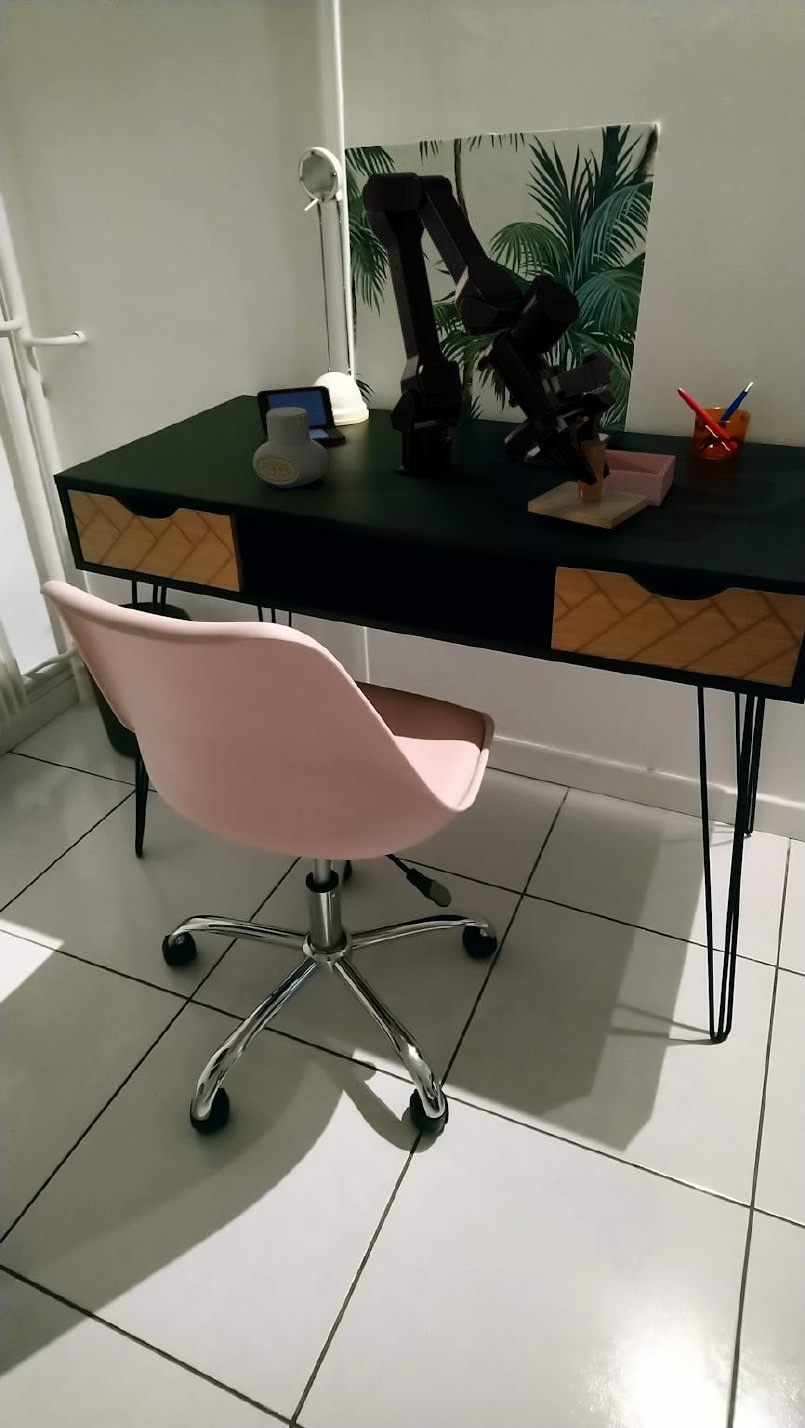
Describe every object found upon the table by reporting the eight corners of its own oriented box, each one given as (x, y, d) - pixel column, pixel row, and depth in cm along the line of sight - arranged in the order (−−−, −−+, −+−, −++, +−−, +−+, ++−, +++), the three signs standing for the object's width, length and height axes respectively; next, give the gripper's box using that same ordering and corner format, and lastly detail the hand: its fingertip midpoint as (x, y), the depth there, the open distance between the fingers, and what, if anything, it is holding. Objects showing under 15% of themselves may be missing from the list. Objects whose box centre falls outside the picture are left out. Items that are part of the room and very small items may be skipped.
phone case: (575, 473, 132) (613, 444, 143) (576, 462, 131) (614, 434, 142) (520, 465, 136) (561, 438, 147) (521, 454, 135) (562, 428, 146)
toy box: (577, 497, 122) (579, 468, 119) (594, 476, 129) (597, 448, 127) (659, 506, 118) (663, 476, 116) (671, 484, 125) (675, 455, 123)
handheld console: (273, 452, 144) (268, 404, 140) (259, 436, 153) (254, 391, 149) (347, 443, 147) (345, 396, 143) (330, 428, 156) (327, 384, 152)
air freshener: (245, 485, 129) (237, 415, 124) (275, 470, 135) (268, 402, 130) (311, 494, 125) (306, 421, 120) (339, 477, 132) (334, 407, 126)
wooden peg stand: (527, 511, 112) (531, 445, 108) (567, 489, 119) (572, 427, 115) (610, 529, 106) (617, 460, 102) (647, 505, 113) (656, 440, 109)
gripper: (531, 342, 97) (613, 459, 98) (609, 319, 110) (682, 423, 110) (470, 407, 106) (545, 515, 106) (549, 379, 118) (616, 475, 118)
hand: (600, 480), depth 110 cm, fingers closed on wooden peg stand, 3 cm apart
